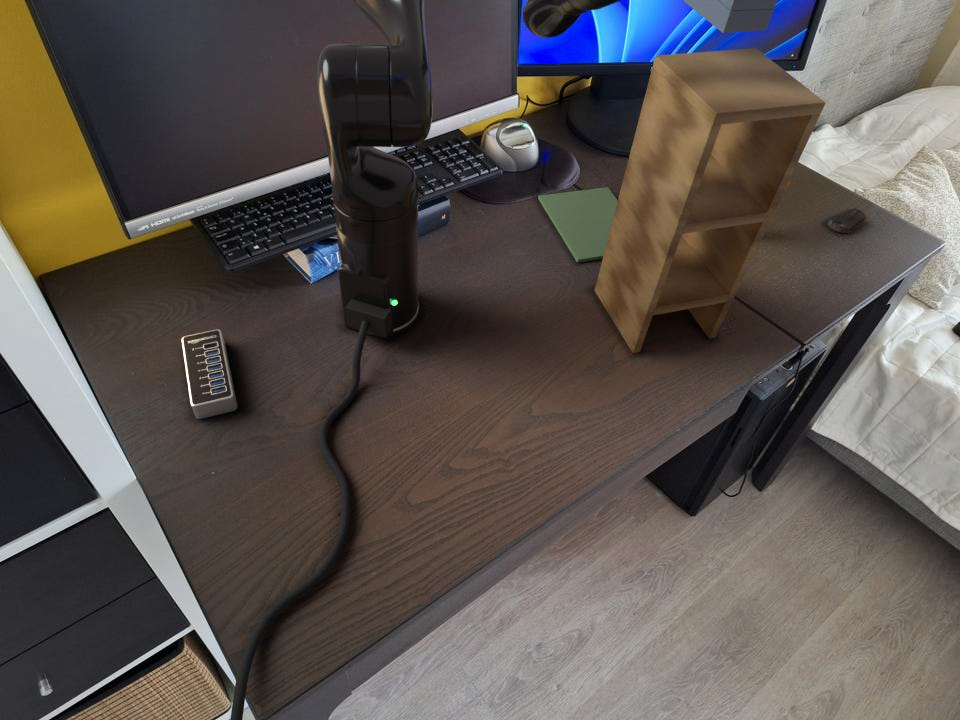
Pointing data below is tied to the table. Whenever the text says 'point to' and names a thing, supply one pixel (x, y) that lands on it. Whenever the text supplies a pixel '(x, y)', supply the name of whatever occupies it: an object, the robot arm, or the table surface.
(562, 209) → the mat
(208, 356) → the multiport hub
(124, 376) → the table surface
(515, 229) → the table surface
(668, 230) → the open shelf unit
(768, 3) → the grey stepped plank
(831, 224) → the dark grey rounded device
